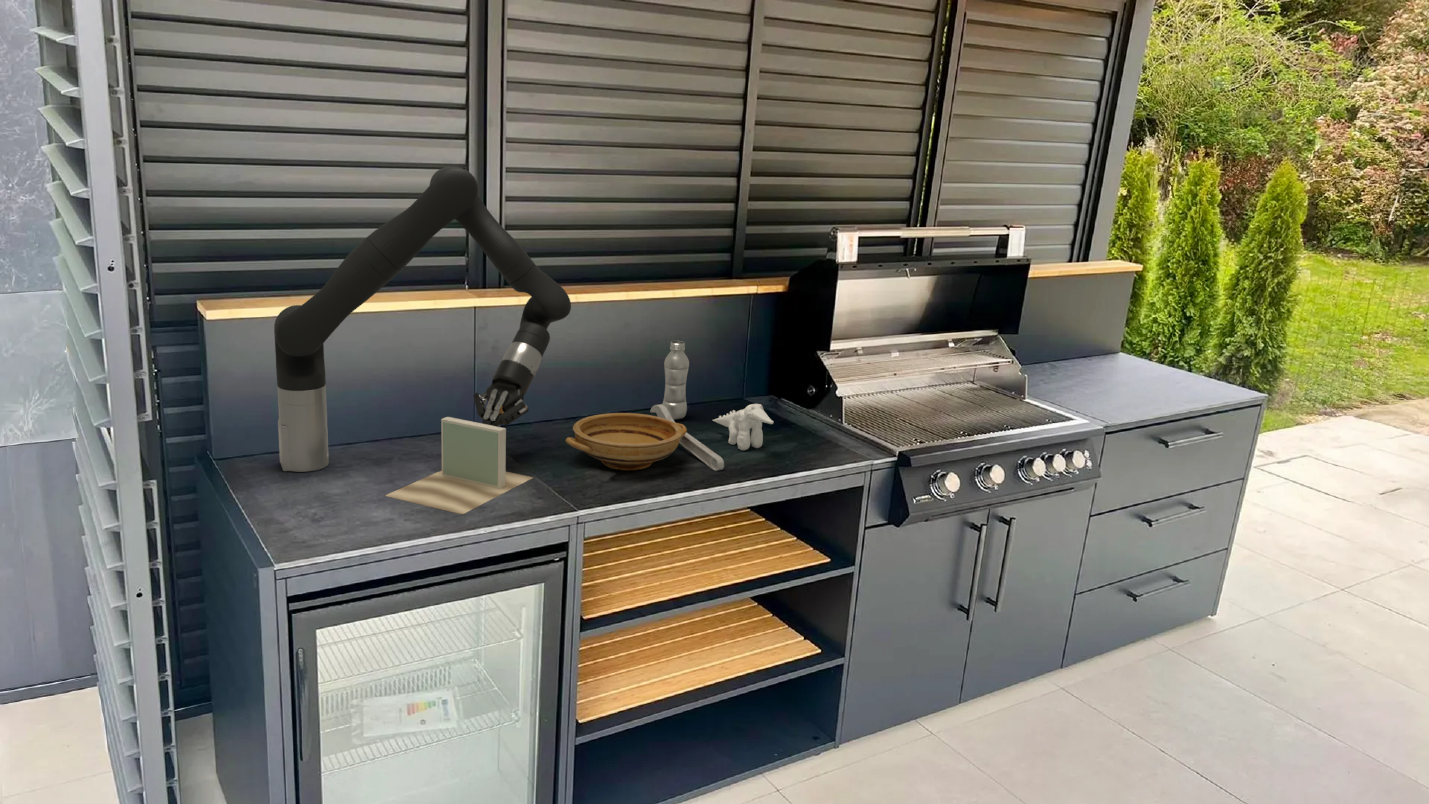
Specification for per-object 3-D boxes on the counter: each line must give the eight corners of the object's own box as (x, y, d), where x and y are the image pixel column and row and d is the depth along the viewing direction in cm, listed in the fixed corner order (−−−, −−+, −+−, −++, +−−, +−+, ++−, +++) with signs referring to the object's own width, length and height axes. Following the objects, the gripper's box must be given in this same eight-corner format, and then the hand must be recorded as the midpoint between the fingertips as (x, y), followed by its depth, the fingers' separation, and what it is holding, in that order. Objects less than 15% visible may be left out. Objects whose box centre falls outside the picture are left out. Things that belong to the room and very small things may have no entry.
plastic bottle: (687, 416, 271) (692, 340, 266) (684, 423, 265) (688, 346, 260) (663, 413, 272) (667, 338, 267) (659, 421, 265) (663, 343, 260)
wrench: (715, 484, 232) (647, 431, 254) (722, 482, 233) (654, 430, 255) (720, 450, 229) (651, 401, 252) (726, 449, 230) (657, 400, 253)
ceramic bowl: (654, 438, 251) (656, 406, 249) (712, 469, 232) (714, 434, 230) (542, 455, 234) (542, 420, 232) (594, 489, 215) (595, 452, 213)
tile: (441, 475, 213) (440, 419, 210) (447, 472, 215) (447, 416, 212) (499, 488, 208) (499, 431, 205) (505, 485, 210) (505, 428, 207)
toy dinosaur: (760, 458, 239) (761, 410, 237) (700, 439, 258) (700, 394, 256) (783, 454, 243) (784, 407, 241) (723, 435, 262) (723, 392, 260)
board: (462, 521, 194) (462, 514, 194) (384, 502, 201) (384, 495, 201) (533, 484, 216) (533, 477, 215) (461, 468, 222) (461, 461, 222)
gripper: (484, 354, 220) (447, 423, 212) (538, 363, 215) (503, 435, 207) (498, 373, 226) (463, 442, 218) (551, 383, 221) (517, 453, 213)
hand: (483, 438), depth 212 cm, fingers closed
